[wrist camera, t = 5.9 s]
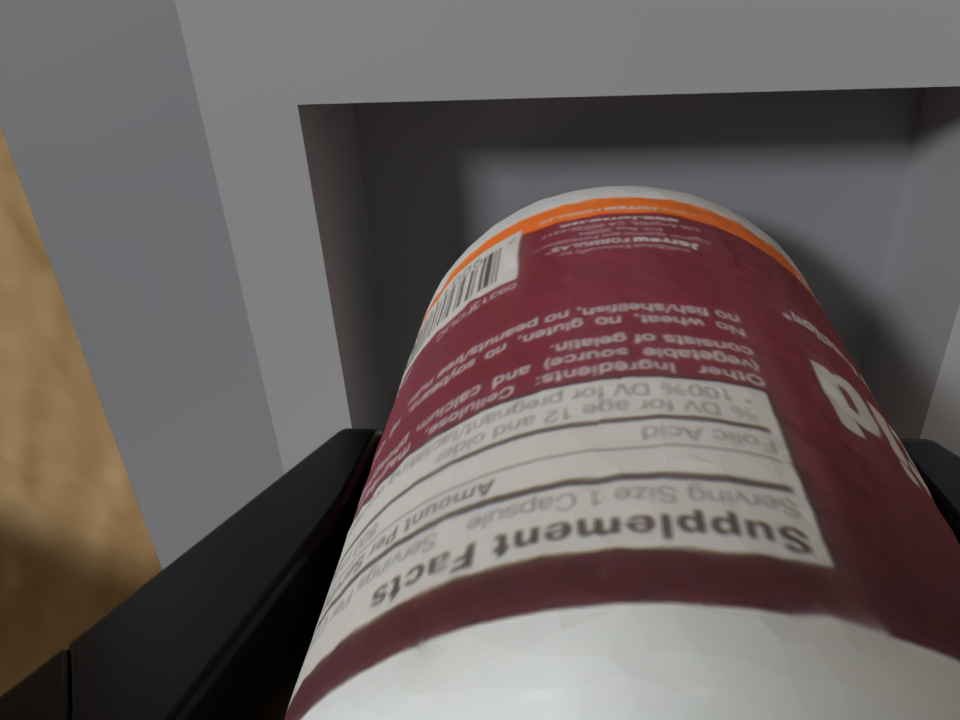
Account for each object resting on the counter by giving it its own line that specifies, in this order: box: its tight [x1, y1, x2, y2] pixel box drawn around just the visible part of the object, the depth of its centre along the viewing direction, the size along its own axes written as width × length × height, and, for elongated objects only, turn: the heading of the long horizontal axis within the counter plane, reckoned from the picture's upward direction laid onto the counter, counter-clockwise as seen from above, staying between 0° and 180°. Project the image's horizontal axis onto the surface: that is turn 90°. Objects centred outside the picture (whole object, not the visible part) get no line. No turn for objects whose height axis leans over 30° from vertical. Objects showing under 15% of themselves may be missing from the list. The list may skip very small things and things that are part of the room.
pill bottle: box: [284, 185, 960, 720], centre depth 6 cm, size 5×5×8 cm
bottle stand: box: [0, 0, 960, 570], centre depth 10 cm, size 16×16×3 cm
